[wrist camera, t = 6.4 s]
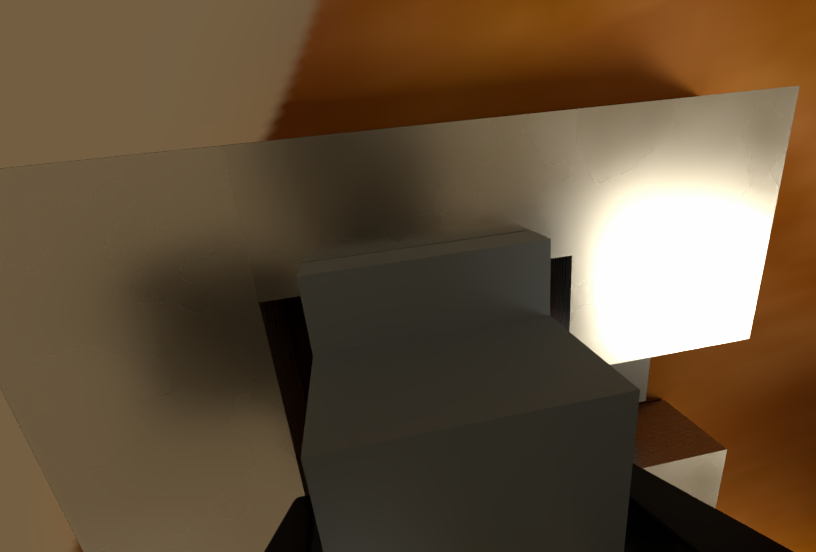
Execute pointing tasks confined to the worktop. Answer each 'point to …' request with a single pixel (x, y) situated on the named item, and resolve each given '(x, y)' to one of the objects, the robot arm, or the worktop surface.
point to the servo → (461, 406)
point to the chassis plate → (341, 237)
